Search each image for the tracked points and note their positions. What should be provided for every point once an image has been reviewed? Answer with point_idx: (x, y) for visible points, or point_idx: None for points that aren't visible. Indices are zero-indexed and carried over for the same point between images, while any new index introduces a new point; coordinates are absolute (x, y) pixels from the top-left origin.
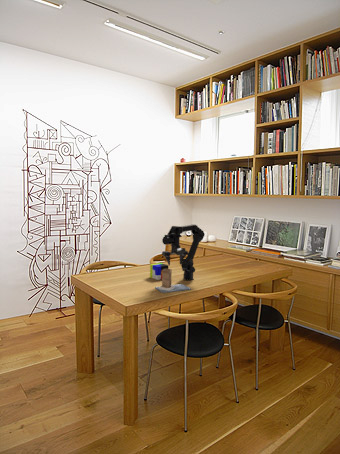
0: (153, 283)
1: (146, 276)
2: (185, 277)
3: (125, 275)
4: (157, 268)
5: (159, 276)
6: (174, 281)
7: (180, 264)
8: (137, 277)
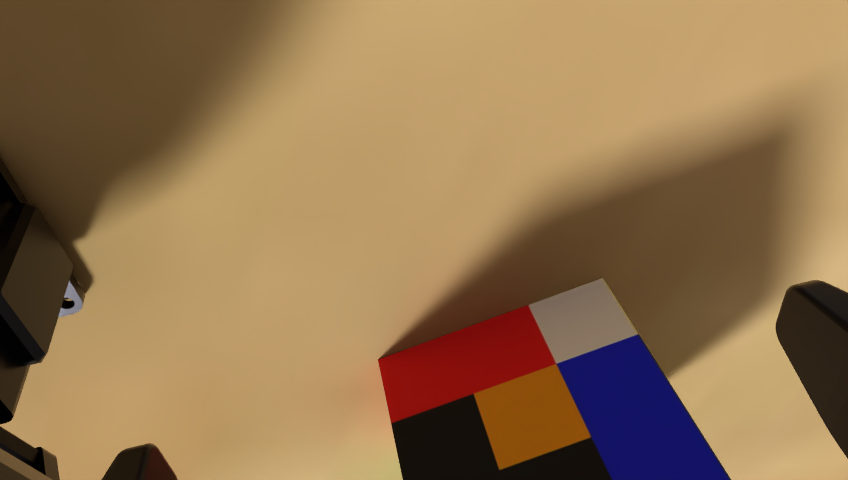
0: (804, 54)
1: None
2: (11, 230)
3: (840, 460)
4: (714, 454)
5: (580, 332)
6: (328, 134)
7: (156, 451)
8: (783, 393)
